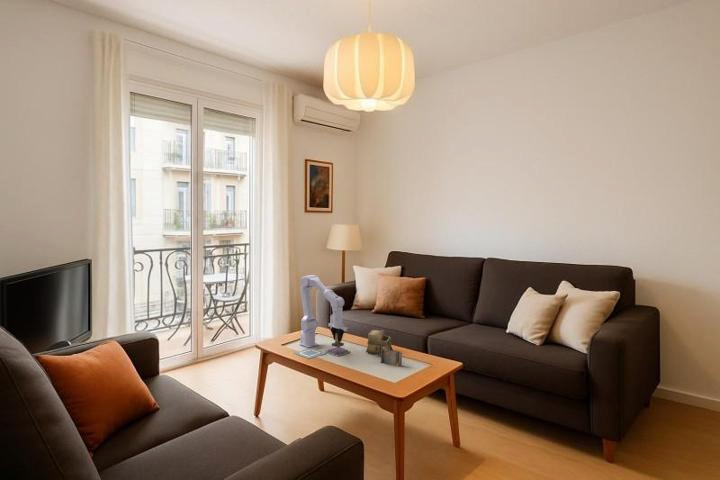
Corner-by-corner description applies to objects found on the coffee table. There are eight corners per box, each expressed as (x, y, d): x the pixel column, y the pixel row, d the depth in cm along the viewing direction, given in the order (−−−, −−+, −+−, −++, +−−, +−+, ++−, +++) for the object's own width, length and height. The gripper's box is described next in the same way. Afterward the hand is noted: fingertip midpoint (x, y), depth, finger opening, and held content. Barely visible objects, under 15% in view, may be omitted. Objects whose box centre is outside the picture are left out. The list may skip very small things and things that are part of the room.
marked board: (293, 353, 248) (293, 352, 248) (311, 348, 258) (311, 347, 258) (308, 359, 239) (308, 358, 238) (326, 353, 248) (326, 353, 248)
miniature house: (364, 354, 246) (364, 335, 245) (369, 347, 260) (369, 329, 259) (389, 356, 242) (389, 337, 242) (393, 349, 256) (393, 330, 256)
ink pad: (324, 352, 250) (324, 350, 250) (338, 348, 258) (338, 345, 258) (337, 356, 243) (337, 354, 242) (350, 352, 250) (350, 350, 250)
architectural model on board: (380, 363, 233) (380, 346, 232) (383, 362, 235) (383, 344, 235) (399, 367, 227) (399, 349, 226) (401, 365, 230) (401, 348, 229)
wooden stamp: (332, 345, 250) (331, 333, 249) (337, 343, 254) (337, 331, 253) (338, 347, 247) (338, 334, 246) (343, 345, 250) (343, 333, 250)
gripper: (351, 318, 247) (351, 341, 248) (334, 314, 257) (334, 336, 258) (342, 321, 242) (342, 344, 243) (325, 316, 252) (325, 339, 253)
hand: (337, 340), depth 250 cm, fingers closed on wooden stamp, 3 cm apart
